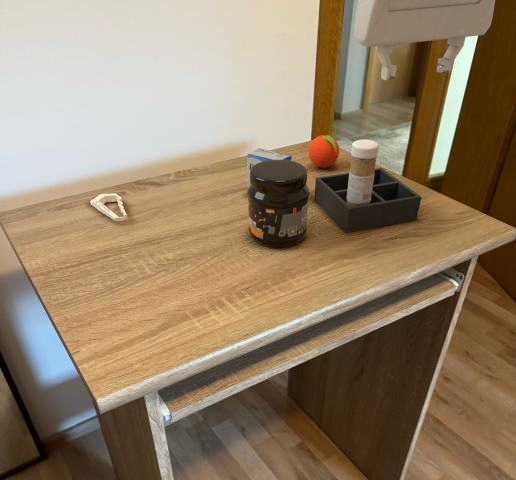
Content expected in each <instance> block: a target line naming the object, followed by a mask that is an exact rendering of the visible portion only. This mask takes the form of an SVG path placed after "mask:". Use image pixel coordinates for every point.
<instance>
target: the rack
mask: <svg viewBox="0 0 516 480" xmlns="http://www.w3.org/2000/svg"><path fill="white" fill-rule="evenodd" d="M374 173H375V174H374V181H373V188H372V195H371V201H370V204H366V205H360V206H354V207H350V206H349V205H348V204H347V203H346V202H347V190H348V181H349V172H344V173H337V174H329V175H325V176H318V177H315V181H314V182H315V183H314V198H313V199H314V201H315V202H316V203H317V204H318V205H319V206H320V207H321V209H323V210H324V212H326V213H327V214H328V215H329V216H330V218H332V219H333V220H334V221H335V223H336V224H337V225H338V226H339V227H340V228H341V229H342V230H343V231H344V232H345V233H352V232H356V231H363V230H368V229H373V228H379V227H384V226H390V225H395V224H400V223H406V222H412V221H417V219H418V215H419V210H420V206H421V201H422V196H421V195H420V194H419V193H417V192H416V191H414V190H413V189H412V188H410V187H409V186H407V185H406V184H404V182H402V181H400V180H399V179H398V178H397V177H395V176H393V175H392V174H391V173H390V172H388V171H387V170H385V169H384V168H383V167H379V168H378V167H377V168H375V171H374Z"/></svg>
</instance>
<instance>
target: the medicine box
mask: <svg viewBox="0 0 516 480" xmlns="http://www.w3.org/2000/svg"><path fill="white" fill-rule="evenodd" d="M268 160H289V161H292V155H289V154H285V153H281V152H279V151H274V150H269V149H265V148H260V147H259V148H255V149H253V150H251V151H249V152H248V153H247V154H246V165H247V166H246V167H247V168H246V169H247V171H246V172H247V175H246V176H247V188H248V187H249V185H250V184H251V183H250V169H251V168H252V167H253V166H254V165H255V164H257V163H260V162H263V161H268Z"/></svg>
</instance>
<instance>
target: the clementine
mask: <svg viewBox="0 0 516 480" xmlns="http://www.w3.org/2000/svg"><path fill="white" fill-rule="evenodd" d="M339 156H340V146H339V142H338V141H337V140H336V139H335V138H334V137H333V136H331V135H329V134H321V135H318V136H316V137H315V138H313V140H311V142H310V144H309V146H308V157H309V161H310V162H311V163H312V164H313V166H315V167H317V168H321V169H326V168H329V167H331V166H333V165H334V164H335V163H336V162H337V160H338V159H339Z"/></svg>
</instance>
